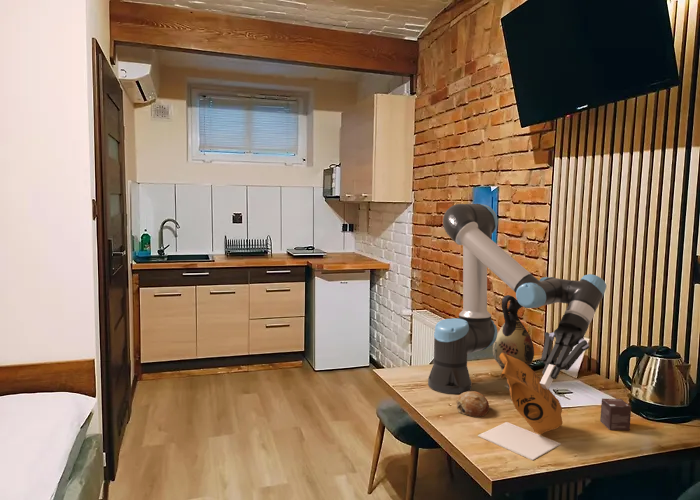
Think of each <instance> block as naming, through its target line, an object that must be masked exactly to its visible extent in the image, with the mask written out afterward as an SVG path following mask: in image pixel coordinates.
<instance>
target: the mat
mask: <svg viewBox="0 0 700 500" xmlns="http://www.w3.org/2000/svg"><path fill="white" fill-rule="evenodd" d="M477 437H479V438H481V439H484V440H486V441H488V442H490V443H492V444H494V445H497V446H499V447H501V448H503V449H506V450H508V451H511V452H513V453H515V454H517V455H519V456H522V457H524V458H527V459H528V460H530V461H534V460H537V459H538V458H540V457H541V456H543V455H545V454H547V453H548V452H551V451H552V450H554V449H555V448H557V447H559V446H560V445H561V442H558V441H557V440H553V439H550V438H548V437H545V436H543V435H542V434H538V433H536V432H533V431H530V430H528V429H527V428H523V427H521V426H518V425H515V424H513V423H511V422H508V421H505V422H503V423H500V424H499V425H497V426H495V427H493V428H490V429H488V430H486V431H484V432H482V433H479V434H478V435H477Z"/></svg>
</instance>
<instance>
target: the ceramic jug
mask: <svg viewBox="0 0 700 500" xmlns="http://www.w3.org/2000/svg"><path fill="white" fill-rule="evenodd" d="M508 302H509V306H508ZM521 308H524V307H523V306H521V305H520V304H519V303H518V300H517V298H516V297H514V296H512V295H504V296H503V298H502V299H501V310H502V314H503V319H504V323H503V324H502V325H501V327H500V329H499V330H497V338H496V341H495V342H494V344H493V345H492V355H493V358H494V360H495V362H496V363H497V364H498V365H499V367H500V371H501V372H503V369H504V367H505V364H503V362H502V361H501V359H500V357H499V356H500V354H501V353H505V354H507V355H509V356H512V357H514V358H516V359H519V360H521V361H522V362H524V363H525V364H527V365H528V366H529V367H530V366H531V364H532V363H533V361H534V357H535V347H534V343H533V341H532V337H531V335H530V333H529V331H528V330H527V329H526V327H525V325H524V324H523V323H522V321H521V319H520V317H519V315H518V312H519V310H520V309H521Z"/></svg>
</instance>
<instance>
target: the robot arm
mask: <svg viewBox="0 0 700 500" xmlns="http://www.w3.org/2000/svg"><path fill="white" fill-rule="evenodd" d="M498 221H499V219H498V216H497V213H496V212H495V210H494V209H493V208H492V207H491V206H489V205H487V204H484V203H483V204H482V203H457V204H454V205H451V206H450V207H449V208H448V209H446V211H445V213H444V214H443V218H442V226H443V229H444V231H445V233H446V235H447V236H448V237H450V239H451V240H452V241H454V242H455V244H457V245H459V246H462V269H463V270H462V284H463V285H462V290H463V291H462V301H463V303H462V305H463V306H462V307H463V308H462V310H461V311H460V312H459V313H458V318H457V317H456V318H455V317H453V318H445V319H441V320H440V321H438V322H437V323H436V324H435V327H434V334H433V337H434V340H433V343H434V344H433V364H432V368H431V370H430V373H429V376H428V380H427V382H428V383H427V385H428V387H429V388H430V389H432V390H434V391H436V392H440V393H444V394H455V395H456V394H459V395H460V394H462V393H463V392H468V391H469V392H470V391H472V380H471V376H470V373H469V369H468V355H469V354H473V353H476V352H479V351H484V350H486V349H488V348H490V347H493V344H494V342H495V341H496V338H497V333H498V327H497V325H496V324H495V321H494V320H492V314H491V313H490V312H489V311H488V269H489V270H490V271H491V272H492V273H493V274H495V276H497V277H498V278H499V279H500V280H501V281H502V282H503V283H505V285H507V286H508V287H509V288H510V289H511V290H512V291H513V292H514V293H515V299H516V300H518V303H519V304H520V305H521V306H523V307H522V308H525V309H537V308H540V307H543V306H547V305H548V306H549V305H552V304H557V303H560V304H561V303H562V304H567V307H566V308H565V311H564V314H563V315H562V318H561V319H560V321H559V323H558V325H557V326H558V327H557V328H556V329H554V332H548V331H547V332H544V338H545V340H544V343H543V345H544V346H543V350H542V354H541V361H542V363H543V364H544V368H543V369H542V371H541V373H542V375H543V376H542V377H541V381H540V384H541V386H542V388H544V389H547V390H548V389H549V390H550V386H551V385H552V382H553V381H554V380H556V379H557V378H558V376H559V374H560V372H561V371H562V370H564V371H569V370H570V368H571V367H572V366H573V365H574V364H575V363H576V361H577V360H578V359H579V357H580V356H581V355H582V354H583V352H585V351H587V350H588V349H589V348H590V345H589V343H588V342H587V340H585V335H586V333H587V331H588V330H589V325H590V324H591V322H592V321H593V318H594V317H595V313H596V311H597V309H598V308H599V305H600V304H601V301H602V299H603V298H604V295H605V292H606V290H607V283H606V281H605V280H604V279H603V278H602V277H600V276H598V275H595V274H591V273H588V274H585V275H583V276H582V277H581V278H580V280H573V279H572V280H571V279H563V278H558V277H554V276H553V277H550V276H547V277H546V276H542V277H541V278H540V279H538V278H537V277H536V276H534V275H533V274H532V273H531V272H530V271H529V270H527V269H526V268H525V267H524V266H522V264H520V263H519V262H518V261H517V260H516V259H515V258H513V256H511V255H510V254H509V253H507V252H506V251H505V250H504V249H503V248H502V247H500V246H499V244H497V243H496V242H495V241H494V240H492V236H493V235H492V234H493V233H495V231H496V229H497V228H498V223H499V222H498ZM554 339H555V342H554ZM553 342H554V345H553Z"/></svg>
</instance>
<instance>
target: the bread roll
mask: <svg viewBox="0 0 700 500" xmlns="http://www.w3.org/2000/svg"><path fill="white" fill-rule="evenodd" d="M456 409H457V411H458V413H460V414H463V415H465V416H469V417H471V418H472V417H473V418H475V417H476V418H480V417H485V416H486V415H487V414H488V413H489V409H490V404H489V401H488V399H487V397H486V396H484V395H483V394H482V393H480V392H478V391H475V390H474V391H473V390H470V391H468V392H463V393H459V395H458V397H457V399H456Z"/></svg>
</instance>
